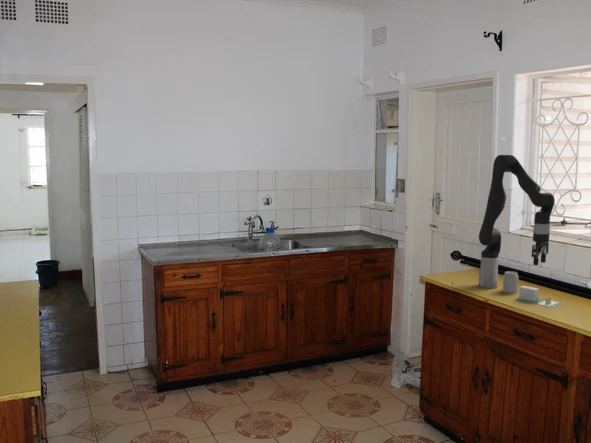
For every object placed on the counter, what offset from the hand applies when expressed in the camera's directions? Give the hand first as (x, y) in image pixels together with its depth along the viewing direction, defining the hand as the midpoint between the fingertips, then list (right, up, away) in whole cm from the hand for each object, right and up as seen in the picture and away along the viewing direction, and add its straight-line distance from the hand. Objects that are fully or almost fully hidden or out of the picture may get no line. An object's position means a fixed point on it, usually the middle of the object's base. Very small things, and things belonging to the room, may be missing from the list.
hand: (539, 263), depth 281 cm
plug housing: (-4, -18, +2) cm, 19 cm away
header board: (-1, -20, -1) cm, 20 cm away
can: (-8, -18, +18) cm, 27 cm away
